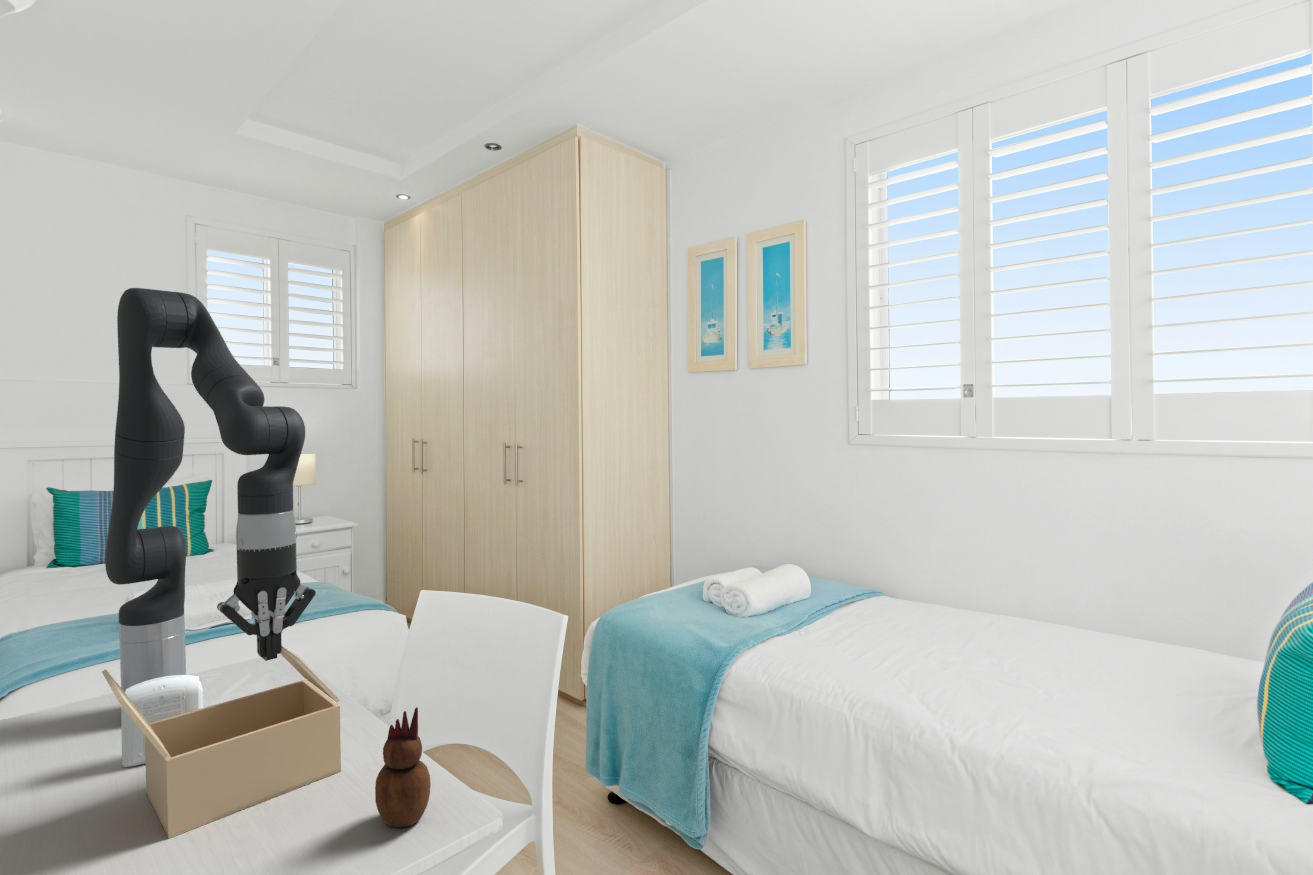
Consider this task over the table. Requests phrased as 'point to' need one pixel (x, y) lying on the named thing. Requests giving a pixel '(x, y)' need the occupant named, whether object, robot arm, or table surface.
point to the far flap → (307, 673)
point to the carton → (240, 754)
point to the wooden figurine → (402, 776)
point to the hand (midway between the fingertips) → (269, 658)
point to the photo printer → (157, 709)
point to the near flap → (134, 713)
